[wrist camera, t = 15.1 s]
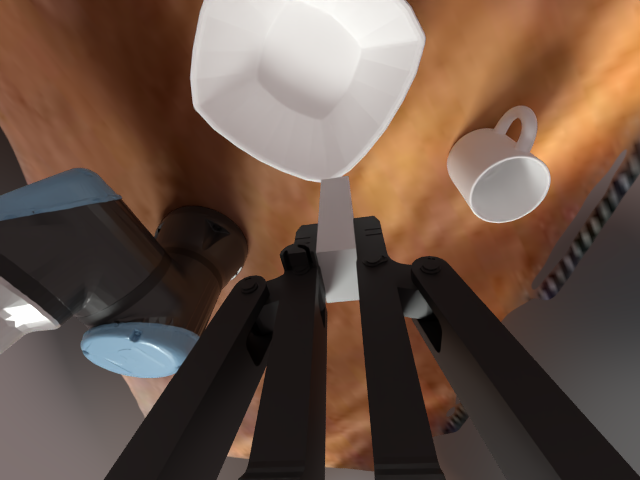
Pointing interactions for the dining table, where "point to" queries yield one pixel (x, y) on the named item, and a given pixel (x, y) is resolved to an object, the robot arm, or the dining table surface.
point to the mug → (500, 169)
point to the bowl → (304, 77)
